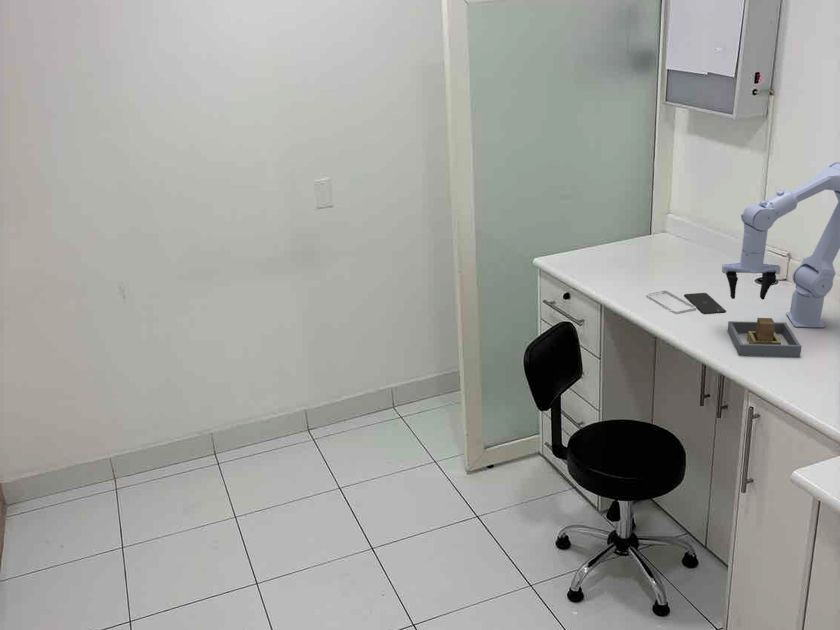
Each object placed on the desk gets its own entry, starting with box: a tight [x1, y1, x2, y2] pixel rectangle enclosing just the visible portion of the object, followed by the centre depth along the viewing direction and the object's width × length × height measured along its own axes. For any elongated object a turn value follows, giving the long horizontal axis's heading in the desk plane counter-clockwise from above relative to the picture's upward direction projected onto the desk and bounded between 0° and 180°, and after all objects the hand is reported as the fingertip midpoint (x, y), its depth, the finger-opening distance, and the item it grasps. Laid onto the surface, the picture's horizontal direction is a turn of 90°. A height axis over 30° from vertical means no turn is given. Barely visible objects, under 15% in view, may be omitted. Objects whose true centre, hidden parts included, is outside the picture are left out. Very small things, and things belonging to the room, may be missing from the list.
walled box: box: [726, 320, 802, 358], centre depth 226 cm, size 15×15×3 cm
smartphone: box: [683, 292, 727, 315], centre depth 252 cm, size 7×1×15 cm
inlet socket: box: [746, 331, 782, 345], centre depth 225 cm, size 7×7×2 cm
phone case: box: [645, 290, 697, 315], centre depth 253 cm, size 7×1×15 cm
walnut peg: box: [755, 317, 776, 341], centre depth 224 cm, size 4×4×7 cm
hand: (747, 297), depth 231 cm, fingers open, 7 cm apart
